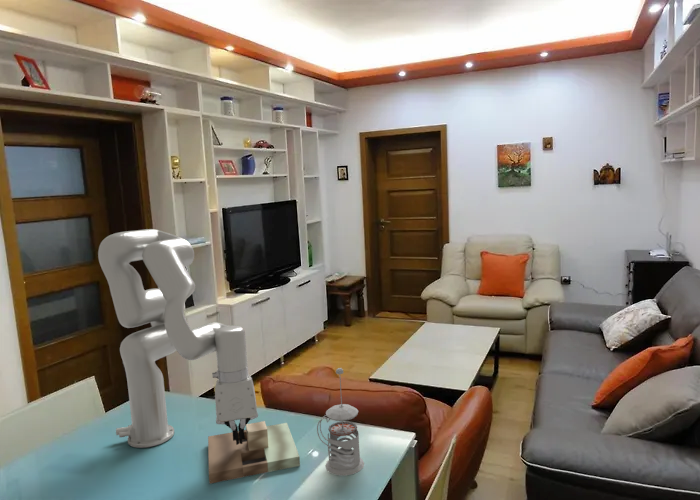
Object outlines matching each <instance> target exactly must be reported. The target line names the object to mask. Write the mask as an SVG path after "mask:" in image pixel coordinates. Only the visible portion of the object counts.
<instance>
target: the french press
mask: <svg viewBox="0 0 700 500" xmlns="http://www.w3.org/2000/svg"><path fill="white" fill-rule="evenodd" d="M335 374H336V375H339V376H341V375H344V369H343V368H342V367H338V368H336V370H335ZM341 379H342V378H341V377H339V388H340V390H339V391H340V404H336V405H333V406H331V407H330V408H328V409H326V411H325V414H324V416H322V417H321V419H320V420H318V423H317V424H316V425H317V426H316V434H317V436H318V438H319V441H321V442H322V443H323V444H324V445H326V446H327V454H328V460H327V461H326V463H325V465H324V466H325V469H326V471H327V472H329V473H330V474H332V475H336V476H350V475H353V474H356V473H359V472H361V470H363V468H364V467H365V462H364V459H363V458H361V456H360V453H361V452H360V438H359V435H360V434H359V431H358V426H357V425H356V423H353V422H351V421H349V420H352V419H355V417H357V416H358V415H359V414H358V413H359V410H358V409H357V408H356V407H354V406H352V405H350V404H347V403H343V401H342V400H343V399H342V395H343V394H342V383H341V382H342V380H341ZM324 419H325V420H326V423H329V421H330V420H332V421H336V422H333V423H332V424H330V425H329V427H328V431H329V433H327V438H326V437H325V436H324V434H323V431H322V427H321V425H322V421H323V420H324ZM319 431H320V434H321V436H322V438H323V439H324V440H326V441H327V443H326V442H324V440H322V438H321V437H320V434H319ZM340 437H342V438H340Z"/></svg>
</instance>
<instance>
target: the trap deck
mask: <svg viewBox="0 0 700 500" xmlns="http://www.w3.org/2000/svg"><path fill="white" fill-rule="evenodd" d="M266 427H267V432H268V447H267V448H262V449H257V450H252V451H249V448H248V444H247V433H246V429H244V435H245V439H242V443H243V444H240V442H239V444H238V445H236V440H234V441H233V432H227V433H221V434H215V435H210V436H208V437H207V441H208V443H207V447H208V448H207V449H208V450H207V451H208V481H209V485H211V484H216V483H220V482H225V481H231V480H234V479H241V478H245V477H246V478H247V477H251V476H256V475H261V474H265V473H271V472H275V471H280V470H286V469H291V468H296V467H300V466H301V460H300V457H301V456H300V455H299V451H298V448H297V446H296V443H295V440H294V438H293V435H292V433H291V429H290V428H289V424H288V422H284V423H278V424H273V425H266ZM238 436H239V431H238Z"/></svg>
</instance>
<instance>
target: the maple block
mask: <svg viewBox="0 0 700 500" xmlns="http://www.w3.org/2000/svg"><path fill="white" fill-rule="evenodd" d="M266 426H267V424H266V421H265V420H263V421H258V422H257V421H256V422H251V423H247V424H246V426H245V430H246V433H247V444H248V448H249V451H252V450H257V449H262V448H267V447H268V432H267V427H266Z"/></svg>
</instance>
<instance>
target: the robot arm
mask: <svg viewBox="0 0 700 500" xmlns="http://www.w3.org/2000/svg"><path fill="white" fill-rule="evenodd" d="M97 255H98V256H97V258H98V262H99V265H100V267H101V270H102V272H103V274H104V276H105V279H106V280H107V284H108V286H109V292H110V296H111V298H112V302H113V306H114V310H115V314H116V317H117V320H118V323H119V324H120V325H121V326H122V327H124V328H127V329H130V328H137V327H141V326H143V325H147V324H150V327H147V328H144V329H141V330H138V331H136V332H132V333H131V334H129V335H127V336H126V337H125V338H124V339H123V340H122V341H121V342H120V345H119V346H120V347H119V353H120V357H121V359H122V364H123V368H124V371H125V377H126V381H127V389H128V390H127V391H128V400H129V408H130V409H129V410H130V417H131V419H130V420H131V424H129V425H128V426H126V427H125V426H124V427H117V428H115V434H116V436H119V438H124V437H125V438H126V437H127V444H128V445H129V446H131V447H133V448H139V449H140V448H141V449H143V448H150V447H155V446H158V445H161V444H163V443H165V442H167V441H169V440H170V439H171V438H172V437H173V436H174V434H175V428H174V427H173V426H172V425H170V424H169V423H168V422H169V421H168V415H167V413H168V412H167V411H168V410H167V402H166V393H165V381H164V380H165V379H164V375H163V373H162V371H161V369H160V368H159V367H158V365H157V364H156V361H158V360H160V359H163V358H165V357H166V356H167V357H168V356H169V355H171V354H174V353H175V352H176V351H177V353H178V354H179V355H180V356H181V357H182V358H183V359H185V360H188V361H195V360H196V361H197V360H199V359H200V358H203V357H205V356H207V355H209V354H212V353H215V352H216V364H217V370H216V371H215V372H212V378H213V379H217V381H216V382H215V390H214V391H215V392H214V393H215V395H214V396H215V414H216V417H215V424H216V425H224V426H227V427H228V428H229V429H230V430H231V431H232V432H233V441H234V440H236V445H238V444H239V442H240V444H243V443H242V439H245V435H244V430H245V429H246V424H249V422H250V421H252V420H254V419H257V418H259V414H258V410H257V399H256V392H255V391H256V390H255V386H254V381H253V377H252V376H251V375H250V374H249V367H248V366H249V365H248V356H247V355H248V352H247V341H246V340H247V339H246V332H245V329H244V328H243V327H242V326H240V325H227V324H225V323H222V322H218V321H217V322H216V321H214V322H208V323H206V324H204V325H199V326H198V327H197V326H196V327H195V328H191V327H190V325H189V323H188V321H187V319H186V317H185V312H184V311H185V310H184V307H185V303H186V301H187V299H188V298H190V296H192V294H193V293H194V292H195V290H196V284H195V281H194V280H193V278H192V277H191V275H190V273H189V272H188V270H187V268H186V267H188V266H190V265H192V264H193V262H194V260H195V251H194V248H193V246H192V244H191V243H190V242H189V241H188V240H186V239H185V238H183V237H180V236H177V235H175V234H173V233H169V232H165V231H164V230H163V231H162V230H159V229H155V228H149V229H148V228H146V229H138V230H128V231H127V230H126V231H120V232H115V233H113V234H110V235H107V236H106V237H105V238H104V239H103V240H102V241H101V242H100V244H99V246H98V251H97ZM137 261H143V263H144V265H145V267H146V268H147V270H148V272H149V274H150V275H151V277H152V279H153V281H154V282H155V284H156V286H157V288H149V289H146V290H145V289H144V288H145V287H144V285H143V281H142V277H141V275H140V273H139V272H138V271H137V270H136V268H134V266H133V265H131V264H130V263H131V262H137ZM238 420H239V422H238V425H237V423H236V421H238ZM238 431H239V436H238Z"/></svg>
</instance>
